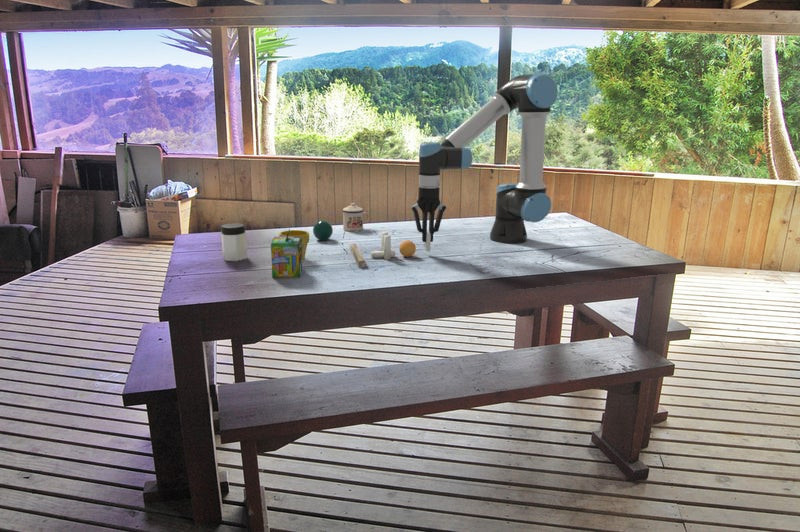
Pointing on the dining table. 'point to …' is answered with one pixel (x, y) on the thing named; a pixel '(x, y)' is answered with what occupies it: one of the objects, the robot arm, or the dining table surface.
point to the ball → (407, 248)
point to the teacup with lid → (353, 218)
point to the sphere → (322, 230)
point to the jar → (233, 242)
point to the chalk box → (286, 256)
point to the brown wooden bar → (357, 255)
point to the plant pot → (298, 234)
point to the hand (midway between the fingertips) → (427, 250)
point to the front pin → (380, 254)
